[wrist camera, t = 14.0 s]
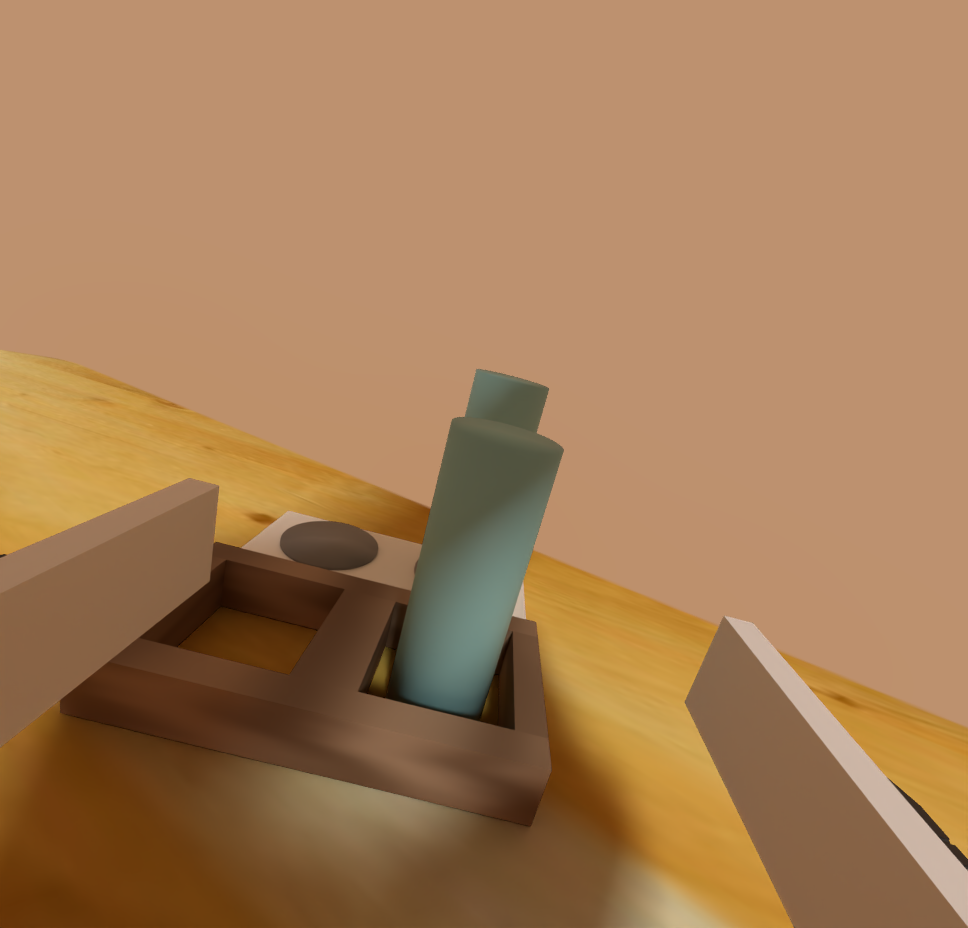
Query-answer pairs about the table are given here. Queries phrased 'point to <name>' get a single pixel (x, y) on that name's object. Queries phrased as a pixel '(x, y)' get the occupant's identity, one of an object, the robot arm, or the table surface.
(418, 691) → the teal pin
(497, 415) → the pin
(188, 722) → the brown wooden peg holder
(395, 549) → the pattern plate
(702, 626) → the table surface
